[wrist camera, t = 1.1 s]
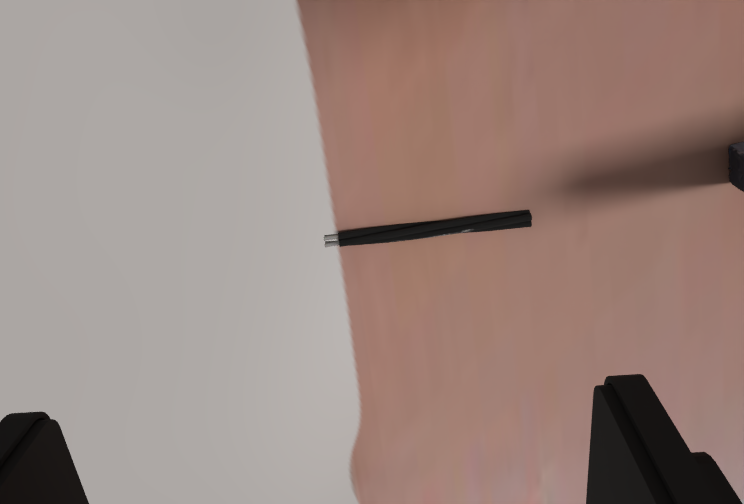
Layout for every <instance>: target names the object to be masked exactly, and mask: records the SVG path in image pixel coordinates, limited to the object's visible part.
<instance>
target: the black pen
mask: <svg viewBox="0 0 744 504" xmlns="http://www.w3.org/2000/svg"><path fill="white" fill-rule="evenodd" d="M531 220H532V216H531V213H530V211H529V210H524V211H514V212H505V213H496V214H489V215H482V216H475V217H469V218H462V219H455V220H449V221H430V222H418V223H406V224H397V225H389V226H381V227H373V228H366V229H360V230H353V231H347V232H341V233H338V235H336V234H332V235H325V237H324V240H329V239H337V238H339V241H326V242H325V247H329V246H336V245H340V247H341V246H348V245H363V244H376V243H388V242H396V241H405V240H413V239H421V238H430V237H436V236H442V235H443V236H444V235H450V234H455V233H468V232H481V231H493V230H503V229H512V228H522V227H531V226H532V223H531Z"/></svg>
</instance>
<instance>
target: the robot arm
mask: <svg viewBox="0 0 744 504" xmlns="http://www.w3.org/2000/svg"><path fill="white" fill-rule="evenodd" d="M0 504H89V503H88V500H87V498H86V495H85V492H84V490H83V487H82V485H81V482H80V479H79V476H78V474H77V471H76V468H75V466H74V463H73V460H72V458H71V455H70V452H69V450H68V447H67V444H66V442H65V439H64V436H63V434H62V431H61V428H60V426H59V424H58V422H57V421H56V420H53V419H50V417H49V416H48V415H47V414H46V413H45V412H28V413H14V414H13V413H12V414H9V415H7V416H6V417H4V418H3V419H2V420H1V422H0ZM586 504H742V502H741V501H740V499H739V498H738V496H737V495H736V493H735V491H734V490H733V488H732V487H731V485H730V484H729V482H728V481H727V479H726V477H725V476H724V474H723V473H722V471H721V470H720V468H719V467H718V465H717V464H716V462H715V461H714V460H713V458H712V457H711V456H710V455H708V454H707V453H705V452H695V453H691V452H690V450H689V448H688V447H687V445H686V443H685V442H684V440H683V438H682V437H681V435H680V433H679V432H678V430H677V429H676V427H675V425H674V424H673V422H672V420H671V419H670V417H669V415H668V414H667V412H666V410H665V409H664V407H663V406H662V404H661V402H660V401H659V399H658V397H657V396H656V394H655V392H654V391H653V389H652V387H651V386H650V384H649V383H648V381H647V379H646V378H645V377H644V376H643V375H641V374H634V375H618V376H608V377H606V379H605V382H604V385H599V386H595V388H594V394H593V409H592V424H591V439H590V454H589V468H588V483H587V498H586Z"/></svg>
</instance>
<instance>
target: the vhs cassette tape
mask: <svg viewBox="0 0 744 504" xmlns="http://www.w3.org/2000/svg"><path fill="white" fill-rule="evenodd" d="M729 163H730V167H729V168H728V169H730V170H731V172H730V174H729V179H730V182H731V183H732V184H733V185H734V186H735V187H737V188H738V189H740V190H742V191H744V142H740V143H736V144H732V145H730V147H729Z"/></svg>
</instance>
